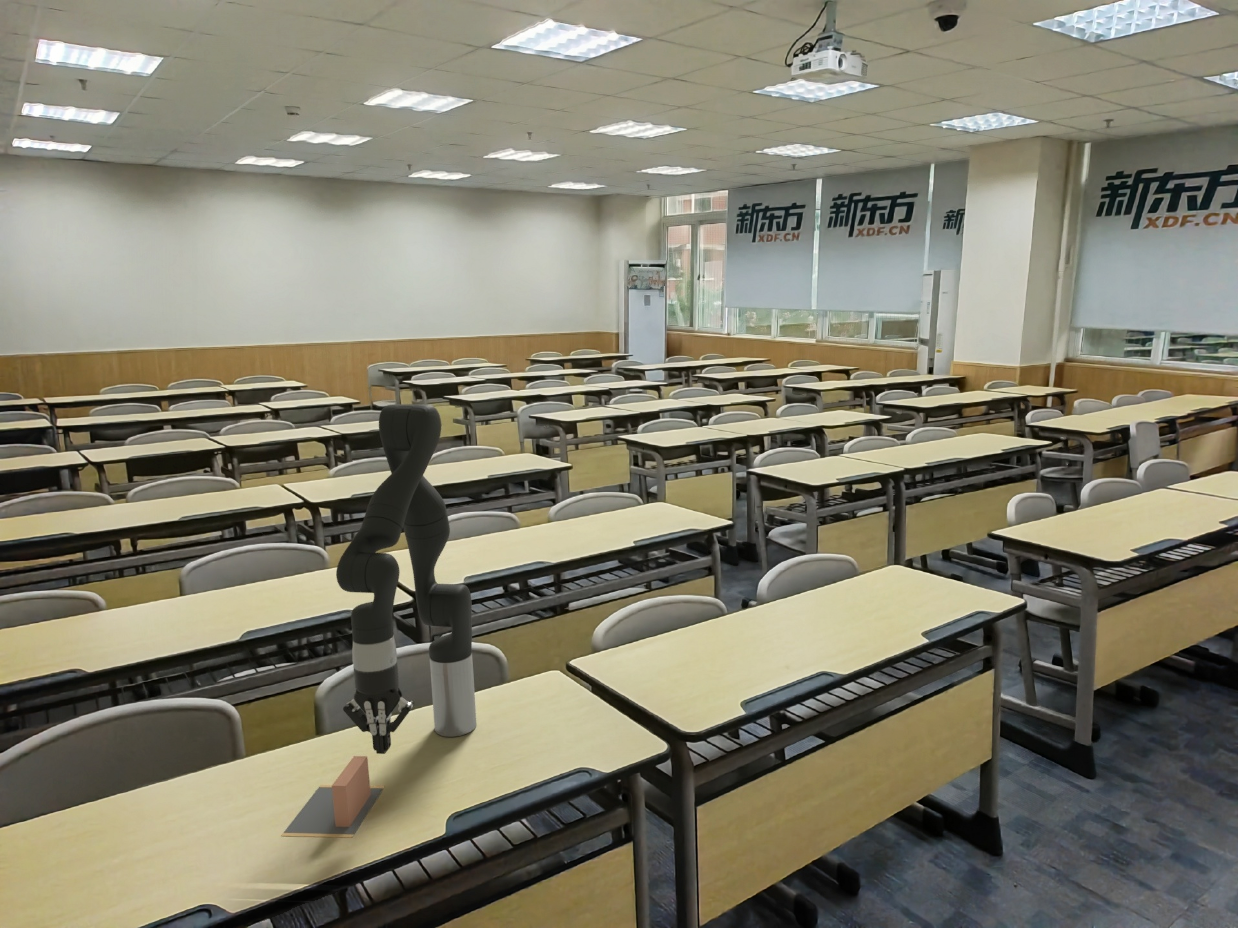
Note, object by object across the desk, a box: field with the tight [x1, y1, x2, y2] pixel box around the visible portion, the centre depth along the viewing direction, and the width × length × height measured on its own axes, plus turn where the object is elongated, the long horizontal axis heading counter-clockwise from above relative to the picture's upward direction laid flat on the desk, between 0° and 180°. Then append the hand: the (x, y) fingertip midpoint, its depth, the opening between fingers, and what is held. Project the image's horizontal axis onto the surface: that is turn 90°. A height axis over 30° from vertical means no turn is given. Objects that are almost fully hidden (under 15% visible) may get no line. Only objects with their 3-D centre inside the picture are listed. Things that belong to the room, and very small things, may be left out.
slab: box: [331, 755, 371, 827], centre depth 150 cm, size 10×3×8 cm, turn 176°
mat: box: [280, 784, 386, 839], centre depth 151 cm, size 16×13×1 cm
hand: (382, 751), depth 148 cm, fingers closed
